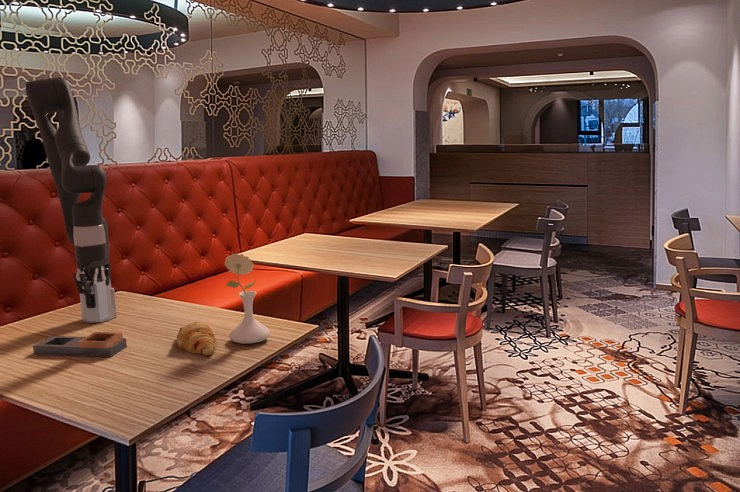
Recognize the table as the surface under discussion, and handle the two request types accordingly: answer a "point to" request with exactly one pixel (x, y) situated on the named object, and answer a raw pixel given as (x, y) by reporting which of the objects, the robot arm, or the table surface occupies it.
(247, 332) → the flower in vase
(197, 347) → the croissant
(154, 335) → the table surface
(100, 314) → the peg
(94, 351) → the socket
